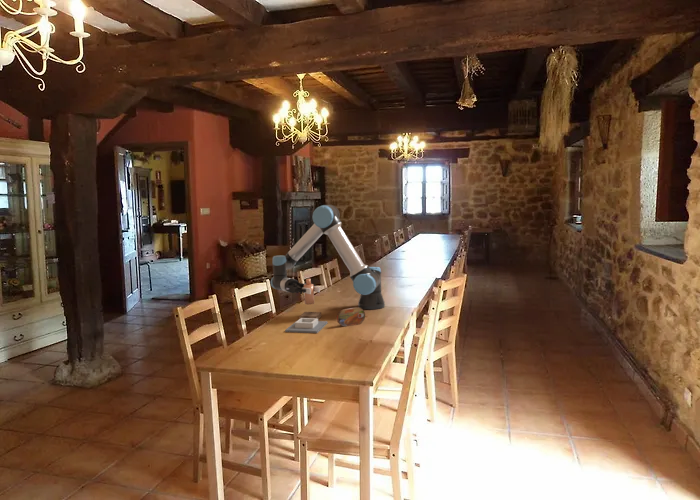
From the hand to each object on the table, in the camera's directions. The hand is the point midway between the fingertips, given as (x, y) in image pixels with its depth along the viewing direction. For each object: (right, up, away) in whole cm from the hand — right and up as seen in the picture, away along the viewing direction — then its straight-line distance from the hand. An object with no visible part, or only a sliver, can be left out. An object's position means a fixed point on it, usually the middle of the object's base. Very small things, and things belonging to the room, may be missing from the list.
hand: (314, 290), depth 261 cm
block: (-3, -15, +6) cm, 17 cm away
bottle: (-3, -7, +5) cm, 9 cm away
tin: (+19, -17, -8) cm, 26 cm away
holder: (-3, -17, -11) cm, 21 cm away
